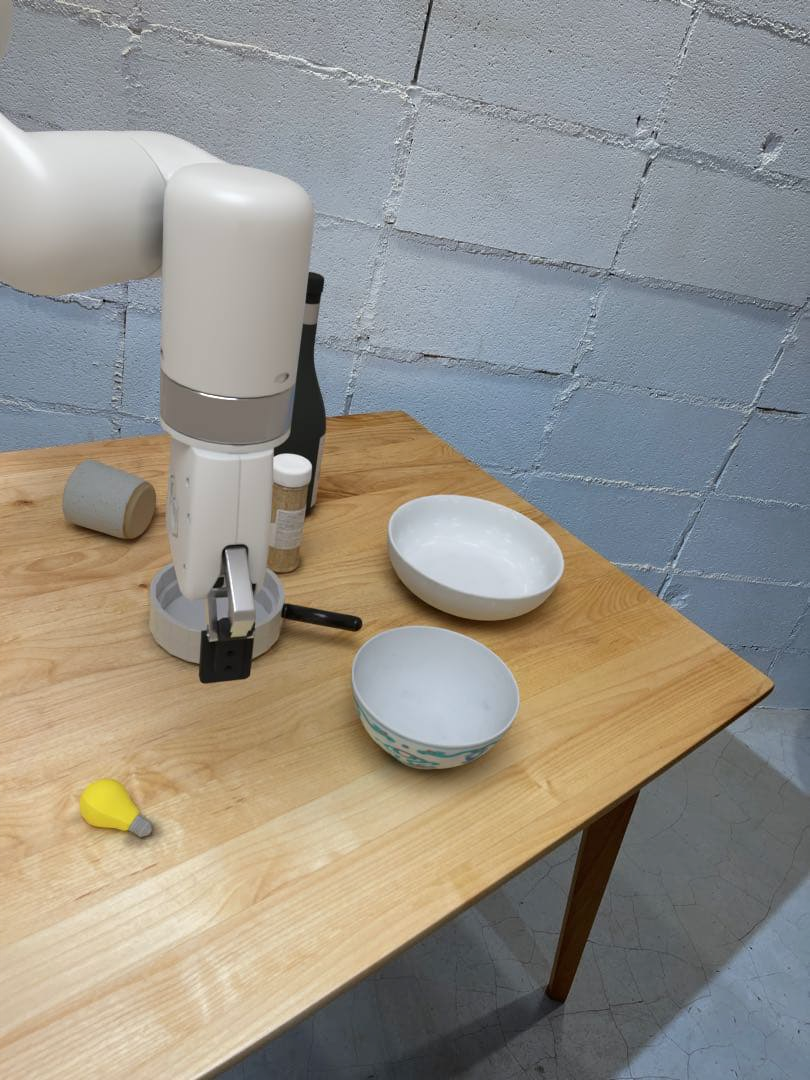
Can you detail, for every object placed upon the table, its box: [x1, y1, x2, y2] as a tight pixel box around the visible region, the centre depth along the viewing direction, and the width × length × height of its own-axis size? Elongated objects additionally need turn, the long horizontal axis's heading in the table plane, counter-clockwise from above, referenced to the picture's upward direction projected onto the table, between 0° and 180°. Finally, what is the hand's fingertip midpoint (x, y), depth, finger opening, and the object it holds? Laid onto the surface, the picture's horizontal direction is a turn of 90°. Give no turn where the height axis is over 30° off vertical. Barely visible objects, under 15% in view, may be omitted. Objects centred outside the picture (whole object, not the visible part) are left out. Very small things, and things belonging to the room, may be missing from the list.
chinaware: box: [350, 625, 521, 770], centre depth 73 cm, size 15×15×8 cm
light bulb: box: [78, 777, 153, 838], centre depth 62 cm, size 3×6×4 cm, turn 71°
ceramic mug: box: [61, 459, 157, 540], centre depth 94 cm, size 11×8×8 cm
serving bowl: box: [386, 494, 565, 622], centre depth 96 cm, size 21×21×7 cm
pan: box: [148, 561, 286, 665], centre depth 83 cm, size 13×13×4 cm
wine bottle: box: [274, 271, 327, 516], centre depth 98 cm, size 8×8×30 cm
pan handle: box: [281, 602, 364, 633], centre depth 83 cm, size 9×2×2 cm, turn 86°
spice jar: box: [266, 454, 312, 573], centre depth 92 cm, size 5×5×13 cm
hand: (211, 629), depth 56 cm, fingers open, 9 cm apart
